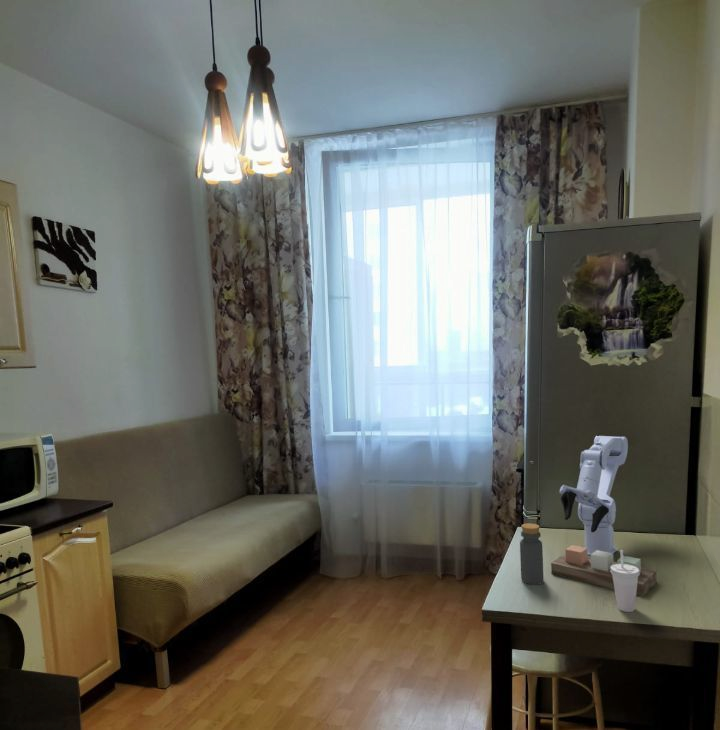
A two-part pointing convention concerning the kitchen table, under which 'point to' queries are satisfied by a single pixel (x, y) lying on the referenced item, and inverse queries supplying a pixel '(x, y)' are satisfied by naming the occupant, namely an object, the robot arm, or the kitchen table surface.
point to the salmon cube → (576, 555)
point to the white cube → (602, 560)
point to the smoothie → (625, 585)
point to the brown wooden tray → (600, 574)
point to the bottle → (531, 554)
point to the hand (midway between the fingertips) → (580, 524)
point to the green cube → (631, 562)
